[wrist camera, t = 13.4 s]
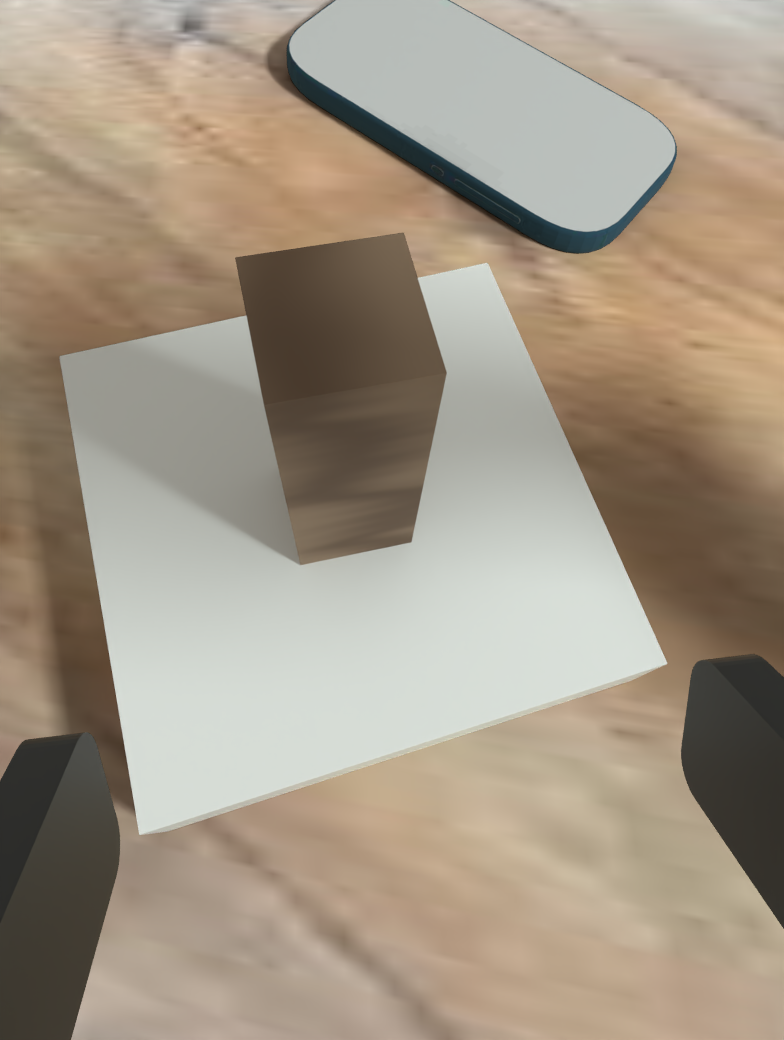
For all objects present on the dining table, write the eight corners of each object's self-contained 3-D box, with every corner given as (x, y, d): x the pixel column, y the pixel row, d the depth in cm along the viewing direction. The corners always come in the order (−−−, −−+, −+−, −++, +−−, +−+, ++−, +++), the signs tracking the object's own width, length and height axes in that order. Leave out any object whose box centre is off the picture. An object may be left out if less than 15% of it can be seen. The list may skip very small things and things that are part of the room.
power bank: (684, 165, 43) (699, 137, 41) (583, 280, 40) (594, 254, 38) (382, -6, 48) (383, -39, 46) (266, 82, 44) (262, 50, 42)
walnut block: (386, 444, 30) (403, 232, 19) (411, 542, 29) (446, 372, 17) (280, 464, 30) (234, 257, 18) (300, 565, 28) (263, 405, 17)
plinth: (474, 316, 38) (487, 262, 34) (630, 681, 31) (667, 663, 27) (91, 404, 35) (59, 356, 31) (168, 831, 28) (139, 834, 24)
